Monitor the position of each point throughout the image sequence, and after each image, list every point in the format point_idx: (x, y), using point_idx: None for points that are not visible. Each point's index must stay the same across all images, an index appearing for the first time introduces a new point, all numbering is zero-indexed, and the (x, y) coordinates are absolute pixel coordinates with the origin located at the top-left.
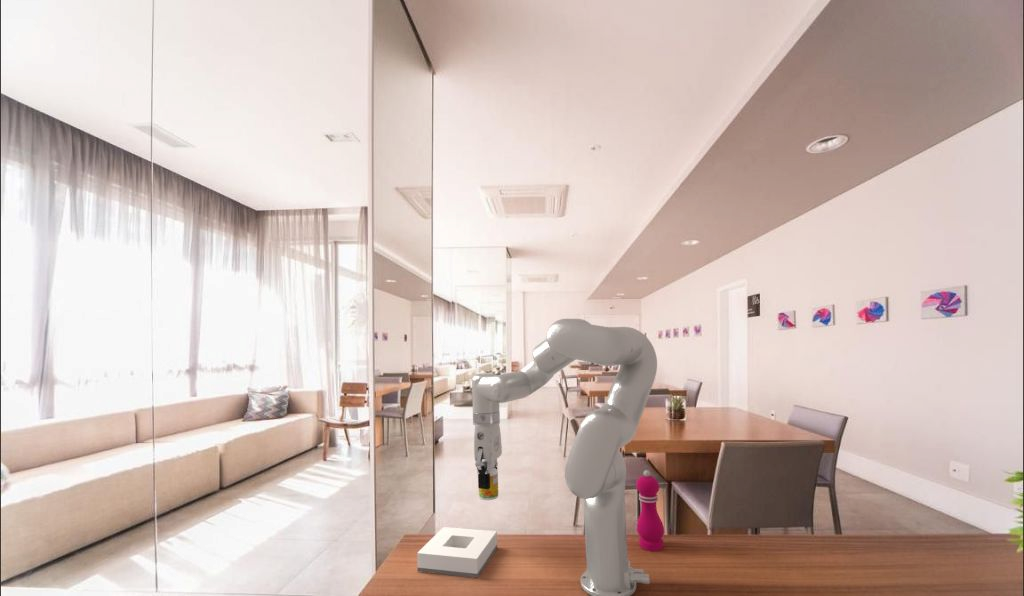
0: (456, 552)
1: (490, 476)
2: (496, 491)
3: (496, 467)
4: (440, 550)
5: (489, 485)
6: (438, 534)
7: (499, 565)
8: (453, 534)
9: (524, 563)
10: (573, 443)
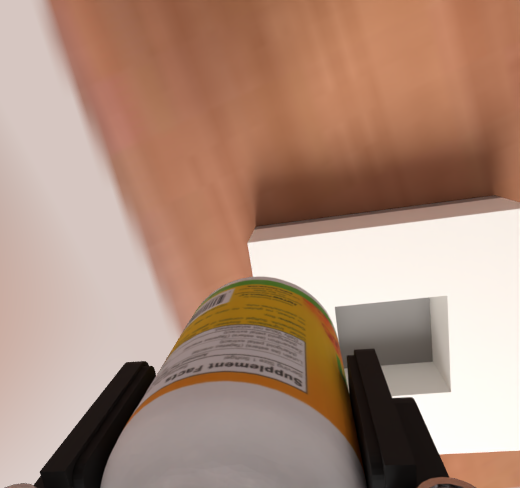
0: (494, 314)
1: (339, 425)
2: (270, 294)
3: (67, 473)
4: (489, 381)
5: (376, 362)
6: None
7: (380, 158)
8: None
9: (337, 67)
10: None
